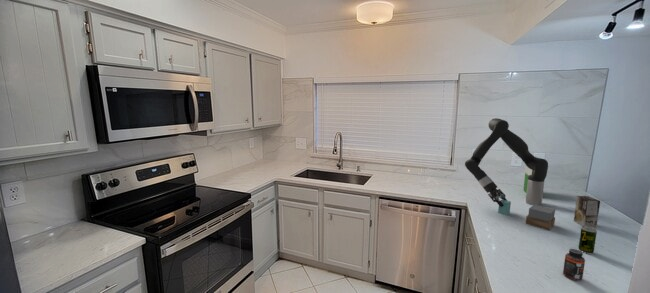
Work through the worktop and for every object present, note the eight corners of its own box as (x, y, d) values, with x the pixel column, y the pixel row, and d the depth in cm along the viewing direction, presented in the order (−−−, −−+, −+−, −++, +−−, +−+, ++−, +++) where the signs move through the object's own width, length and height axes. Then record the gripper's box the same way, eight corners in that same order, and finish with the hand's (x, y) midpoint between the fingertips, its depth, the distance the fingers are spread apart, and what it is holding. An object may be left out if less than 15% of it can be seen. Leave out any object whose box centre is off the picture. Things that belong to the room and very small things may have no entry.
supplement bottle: (582, 283, 107) (586, 256, 105) (562, 277, 111) (566, 251, 109) (582, 276, 111) (585, 250, 109) (562, 270, 115) (566, 245, 113)
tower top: (533, 212, 166) (534, 204, 165) (554, 217, 158) (555, 209, 157) (528, 216, 160) (529, 208, 159) (549, 221, 152) (550, 213, 151)
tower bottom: (531, 219, 167) (532, 211, 167) (554, 225, 159) (555, 217, 158) (525, 224, 161) (526, 216, 160) (548, 230, 152) (549, 222, 151)
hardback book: (541, 197, 205) (544, 167, 202) (529, 196, 208) (532, 166, 205) (534, 191, 221) (537, 162, 218) (523, 190, 224) (526, 161, 221)
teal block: (501, 210, 181) (502, 199, 179) (509, 213, 177) (510, 201, 175) (498, 212, 178) (499, 201, 176) (506, 215, 174) (507, 203, 172)
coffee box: (597, 228, 154) (601, 201, 152) (584, 227, 156) (587, 200, 153) (585, 221, 163) (589, 195, 161) (573, 220, 164) (576, 195, 162)
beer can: (577, 247, 134) (581, 224, 132) (593, 250, 130) (596, 227, 129) (578, 251, 130) (581, 228, 128) (594, 255, 126) (597, 231, 125)
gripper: (487, 183, 177) (505, 204, 169) (496, 179, 185) (514, 200, 178) (478, 188, 182) (495, 210, 174) (487, 185, 190) (504, 205, 183)
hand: (505, 205), depth 176 cm, fingers open, 8 cm apart
